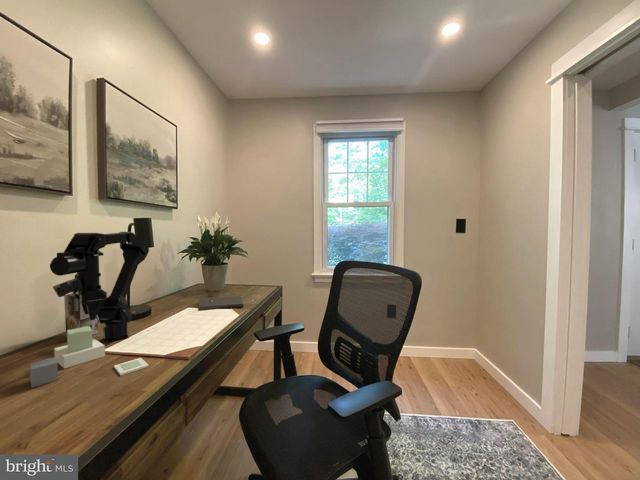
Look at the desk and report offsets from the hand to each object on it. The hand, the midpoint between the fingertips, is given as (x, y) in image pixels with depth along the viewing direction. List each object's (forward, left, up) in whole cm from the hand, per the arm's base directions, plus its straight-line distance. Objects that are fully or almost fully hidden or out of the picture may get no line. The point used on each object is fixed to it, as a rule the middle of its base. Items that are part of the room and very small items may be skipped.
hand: (89, 316), depth 93 cm
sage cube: (+3, +3, -8) cm, 9 cm away
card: (-6, +22, -12) cm, 26 cm away
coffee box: (-1, -22, -12) cm, 25 cm away
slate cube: (+12, +13, -12) cm, 21 cm away
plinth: (+3, +3, -12) cm, 13 cm away
